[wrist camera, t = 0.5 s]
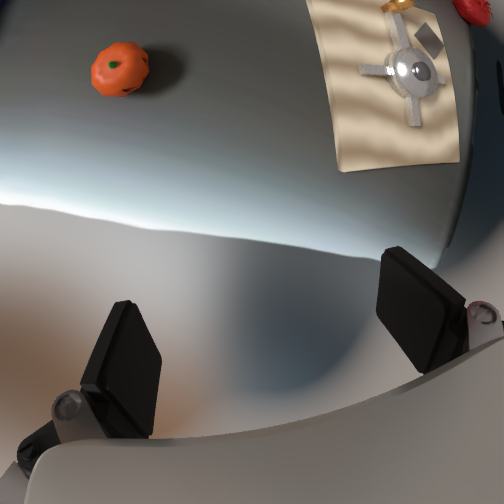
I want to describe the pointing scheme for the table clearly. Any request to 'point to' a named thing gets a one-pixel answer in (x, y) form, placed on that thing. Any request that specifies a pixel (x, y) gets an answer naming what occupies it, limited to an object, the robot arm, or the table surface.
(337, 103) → the wooden board
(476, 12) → the pomegranate
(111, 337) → the robot arm
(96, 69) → the pumpkin
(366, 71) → the cylinder
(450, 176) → the table surface
